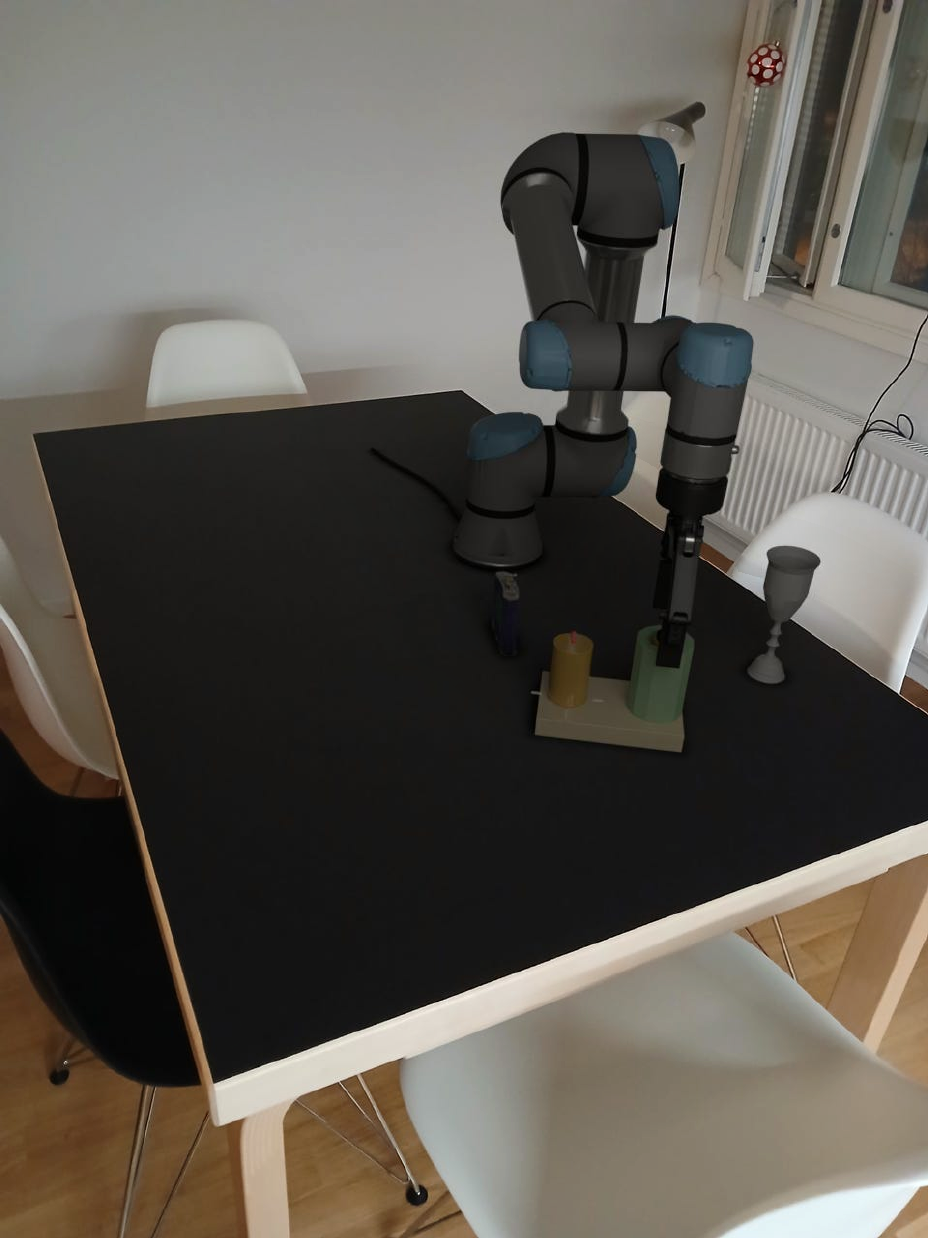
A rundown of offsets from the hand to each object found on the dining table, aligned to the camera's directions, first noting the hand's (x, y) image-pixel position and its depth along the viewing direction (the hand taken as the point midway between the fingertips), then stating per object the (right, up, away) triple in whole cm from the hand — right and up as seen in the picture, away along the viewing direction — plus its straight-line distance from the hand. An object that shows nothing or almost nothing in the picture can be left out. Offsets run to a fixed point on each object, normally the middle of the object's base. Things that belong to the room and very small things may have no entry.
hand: (665, 635), depth 117 cm
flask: (-19, -1, +23) cm, 29 cm away
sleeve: (0, -9, +5) cm, 10 cm away
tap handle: (-11, -8, +6) cm, 15 cm away
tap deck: (-6, -11, +7) cm, 14 cm away
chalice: (+18, -6, +18) cm, 26 cm away
